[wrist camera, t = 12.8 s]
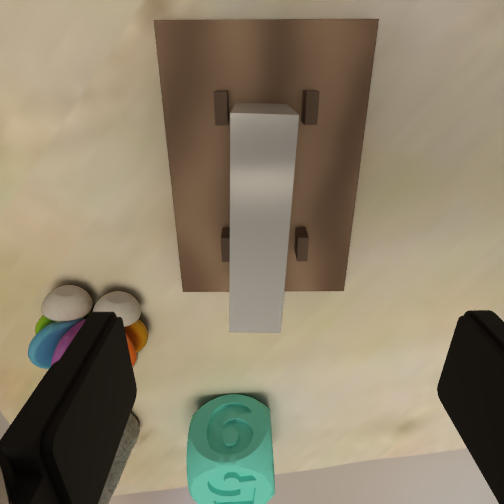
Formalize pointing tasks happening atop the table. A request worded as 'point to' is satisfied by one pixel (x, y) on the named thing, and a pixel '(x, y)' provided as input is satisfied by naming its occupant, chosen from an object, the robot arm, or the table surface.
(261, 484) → the decorative dice
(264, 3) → the table surface
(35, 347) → the rainbow petal toy
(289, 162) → the gray rectangular block
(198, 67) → the brown board
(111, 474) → the decorative stone
